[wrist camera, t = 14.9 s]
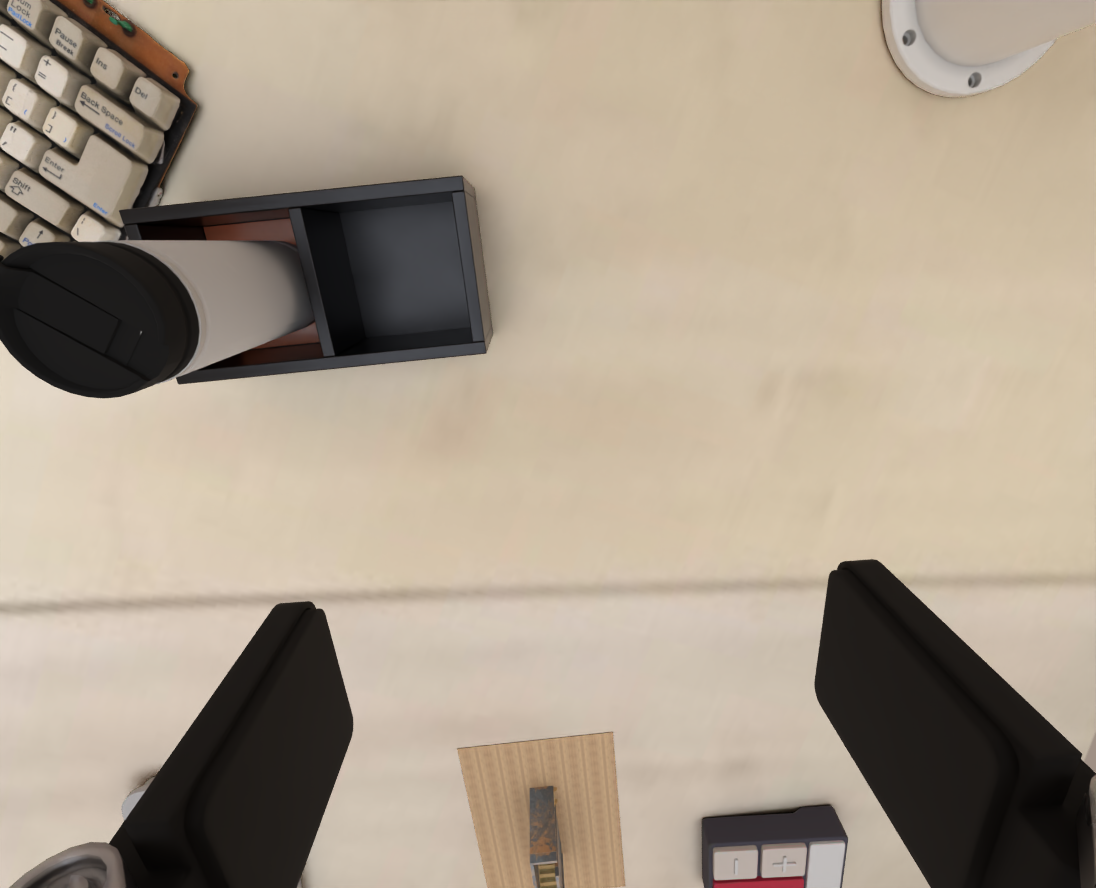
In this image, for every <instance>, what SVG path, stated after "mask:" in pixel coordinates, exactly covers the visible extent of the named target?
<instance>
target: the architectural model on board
mask: <svg viewBox="0 0 1096 888" xmlns="http://www.w3.org/2000/svg"><path fill="white" fill-rule="evenodd" d="M457 750H458V754H459V759H460V764H461V768H462V773H463V777H464V782H465V786H466V791H467V796H468V800H469V805H470V809H471V814H472V818H473V823H474V827H475V832H476V837H477V841H478V846H479V850H480V855H481V859H482V864H483V868H484V873H485V878H486V882H487V887H488V888H612V887H621V886H625V878H624V866H623V854H622V841H621V829H620V816H619V804H618V792H617V779H616V767H615V755H614V742H613V732H610V733H601V734H592V735H582V736H573V737H564V738H554V739H545V740H536V741H526V742H517V743H508V744H498V745H489V746H480V747H470V748H461V749H457Z"/></svg>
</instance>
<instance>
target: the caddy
mask: <svg viewBox="0 0 1096 888" xmlns="http://www.w3.org/2000/svg"><path fill="white" fill-rule="evenodd" d="M119 213H120V216H121V219H122V222H123V224H124V227H125V230H126V233H127V236H128V239H129V240H200V241H283V242H288V243H291V244H294V245H296V246H297V250H298V254H299V258H300V262H301V266H302V270H303V274H304V279H305V283H306V287H307V291H308V295H309V299H310V303H311V307H312V312H313V316H314V320H315V322H314V323H312V324H311V325H309V326H307V327H305V328H303V329H300V330H297V331H295V332H292V333H290V334H287V335H285V336H282V337H280V338H277V339H275V340H272V341H269V342H267V343H264V344H262V345H259V346H257V347H254V348H251V349H249V350H246V351H244V352H241V353H239V354H236V355H233V356H231V357H228V358H226V359H223V360H221V361H218V362H215V363H213V364H210V365H208V366H205V367H203V368H200V369H197V370H195V371H192V372H190V373H187V374H185V375H182V376H179V377H176V379H177V382H178V384H187V383H197V382H207V381H217V380H227V379H237V378H247V377H257V376H267V375H277V374H287V373H297V372H307V371H317V370H327V369H337V368H347V367H356V366H366V365H376V364H386V363H396V362H406V361H416V360H426V359H436V358H446V357H456V356H466V355H476V354H486V352H487V350H488V347H489V344H490V341H491V339H492V336H493V329H492V321H491V313H490V305H489V297H488V290H487V282H486V274H485V266H484V259H483V251H482V243H481V235H480V228H479V220H478V212H477V204H476V196H475V189H474V187H473V186H472V185H471V184H470V183H469V182H468V181H467V180H466V179H465V178H464V177H463V176H452V177H442V178H433V179H423V180H413V181H403V182H393V183H383V184H373V185H363V186H353V187H343V188H333V189H323V190H313V191H303V192H293V193H283V194H273V195H263V196H253V197H243V198H233V199H224V200H214V201H204V202H194V203H184V204H174V205H164V206H154V207H144V208H134V209H124V210H119Z"/></svg>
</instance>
